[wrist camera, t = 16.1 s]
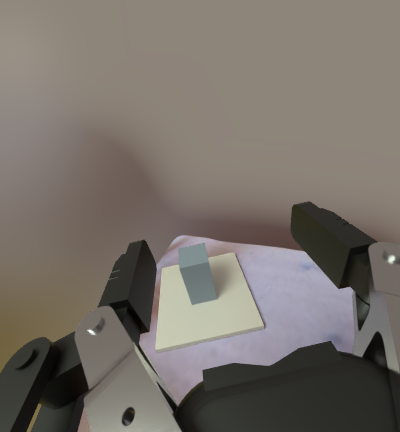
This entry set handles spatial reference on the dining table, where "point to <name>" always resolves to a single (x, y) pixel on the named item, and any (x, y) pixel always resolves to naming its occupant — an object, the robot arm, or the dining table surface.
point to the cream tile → (205, 307)
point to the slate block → (197, 274)
